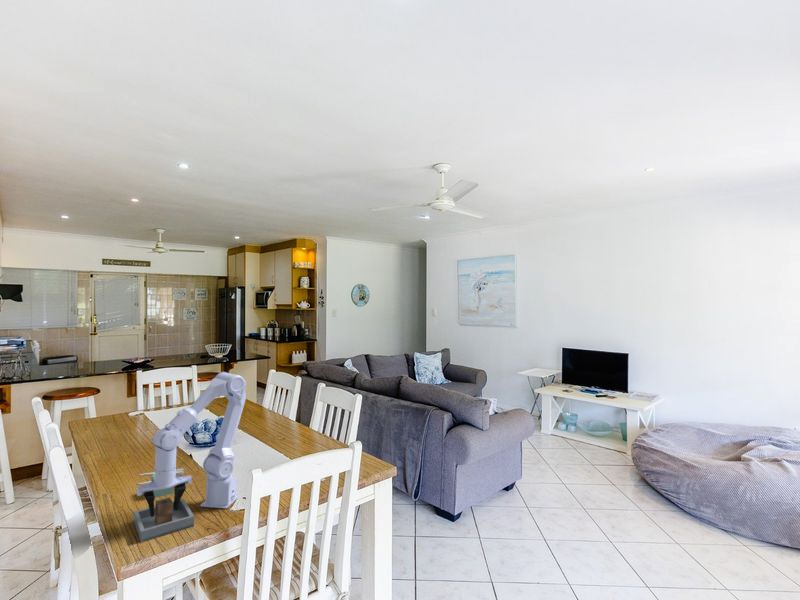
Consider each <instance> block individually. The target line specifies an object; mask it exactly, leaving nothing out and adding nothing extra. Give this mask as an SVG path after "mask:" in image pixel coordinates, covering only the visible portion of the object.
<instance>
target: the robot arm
mask: <svg viewBox="0 0 800 600" xmlns="http://www.w3.org/2000/svg"><path fill="white" fill-rule="evenodd" d="M246 387H247V382H246V380H245V379H244V377H243V376H242V375H239V374H235V373H234V374H233V373H229V372H226V371H221V372H218V374H216V376H215V377H214V378H212V379H211V380H210V383H209V385H208V386H207V387H206V389H205V390H204V391H203V392H202V393H201V394H200V395H199V396H198V397H197V398H196V399H195V400H194V401H193V403H192V404H191V405H190V406H189V407H187V408H182V409H181V410H178V411H177V412H176V415H175V417H174V418H173V419H171V420H170V422H169V423H166V424H165V425H164V427H163V428H160V429H158V430H157V431H155V433H154V436H153V438H151V443H152V444H153V445H154V447H155V449H154V450H155V454H154V455H155V456H154V472H155V479H154V482H152V483H149V484H143V485H140V486H137V487H136V495H137V497H140V496H142V495H143V497H144V499H145V501H146V503H147V504H148V508H149V509H150V515H151V517H153V516H154V506H155V499H156V498H155V496H154V493H153V491H158V490H162V489H166V488H170V487H173V494H174V495H173V496H174V499H173V501H174V509H175V510H178V505H179V502H180V500H181V499H182V497H183V495H184V493H185V491H186V489H187V486H186V484H187V485H190V484H192V476H191V475H185V476H183V475H182V476H176V470H177V449H178V446H179V445H180V443H181V440H182V437H183V436H184V435H185V433H186V432H188V431H189V429H190V428H191V427H192V426H193V425H194V424H195V423H196V422H197V420H198V415H199V413H201V412H202V411H203V410H204V409H206V407H208V406H209V404H211V403H212V402H213V401H214V400H215V399H216V398H217V397H221V396H222V397H223V396H225V397H226V399H227V400H228V402H227V405H226V409H225V412H224V416H223V419H222V423H221V425H220V429H219V431H218V432H219V433H218V436H217V439H216V442H215V445H214V446H213V447H212V448H211V449H209V451H208V454H207V456H206V457H205V458H204V460H203V463H202V469H203V470H204V471H205V472H206V474H205V475H206V483H205V484H206V486H205V500H204V501H203V502H202V503H201V504H200V505H199V506H200V507H201V508H203V507H204V508H215V509H228V508H229V507H230V506H231V505H232V504H233V503H234V502H235V501H236V500H237V499H238V498H239V497H238V478H237V477H235V476H232V473H233V471H234V469H235V464H234V462H235V461H234V460H235V454H234V452H233V449H232V448H233V444H234V442H235V438H236V435H237V431H238V427H239V424H240V421H241V417H242V413H243V409H244V406H245V403H246V400H247V395H246V393H247V392H246Z"/></svg>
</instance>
